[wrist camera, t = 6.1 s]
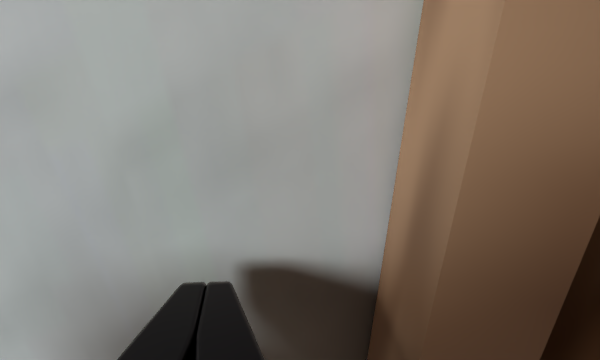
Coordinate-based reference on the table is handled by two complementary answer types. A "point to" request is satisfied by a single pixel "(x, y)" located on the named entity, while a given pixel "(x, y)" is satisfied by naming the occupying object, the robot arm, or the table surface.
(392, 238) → the tongs arm
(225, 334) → the robot arm
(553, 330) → the tongs fixed
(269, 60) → the table surface
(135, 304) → the table surface
